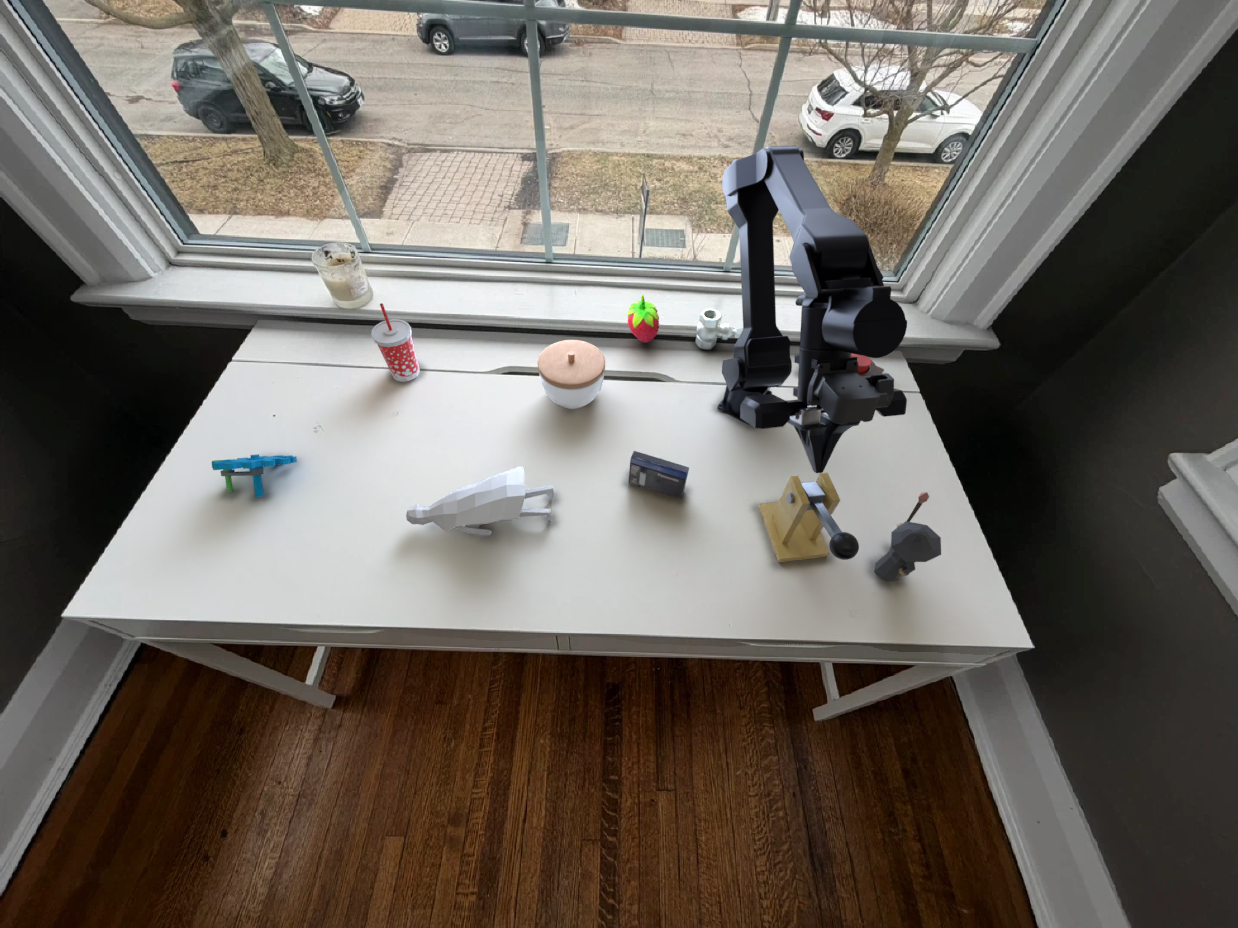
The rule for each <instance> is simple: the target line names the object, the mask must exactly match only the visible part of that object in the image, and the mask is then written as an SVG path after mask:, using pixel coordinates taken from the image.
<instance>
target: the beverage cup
mask: <svg viewBox="0 0 1238 928" xmlns="http://www.w3.org/2000/svg"><path fill="white" fill-rule="evenodd" d="M379 307H380V309H381V312H382V315H383V317H384V320H383V321H380V322H379V323H377V324H376V325H374V326H373V328H372V329H371V332H370V333H371V334H370V336H371V339H372V340H373V342H374V344H376V345H377V347H378V349H379V351H380V353H381V355H382V358H383V360H384V361H385V364H386V366H387V367H388V370H389V371H390V374H391V376H392V377H393V379H394V380H395V381H397V382H401V383H405V382H410V381H414V380H415V379H416V378H418V376H419V375H420V373H421V368H420V366H419V360H418V357H417V352H416V349H415V345H414V341H413V337H412V331H413V330H412V326H411V325H410V324H409V322H407V321H405V320H404V319H398V318H393V319H392V318H391V319H389V317H388V314H387V311H386V308H385V306H384V304H383V303H379Z"/></svg>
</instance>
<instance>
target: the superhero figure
mask: <svg viewBox="0 0 1238 928" xmlns="http://www.w3.org/2000/svg"><path fill="white" fill-rule="evenodd" d="M525 487H526V486H525V469H524V467H523V466H522V465H520V466H516V467H514V468H511V469H509V470H506V471H503V472H500V473H497V474H493V475H491V476H489V477H486V478H483V479H482V480H480V481H478V482H474V483H472V484H468V485H465V486H462V487H459V488H457V489H455V490H453V491H452V492H450V493H448V494H447V495H445V496H443V497H442V498H440V499H439V500H437V501H435V502H433V503H432V504H430V505H422V504H420V503H416V504H414V505H412V506H410V507H409V508H408V509H407V510H406V513H405V518H406V521H407V522H409V523H410V524H411V525H419V526H424V525H427V524H430V523H433V524H434V525H436V526H437V527H438V528H440V529H442V530H443V531H445V532H448V531H450V530H452V529H457V530H459V531H461V532H464V533H468V534H472V535H475V536H479V537H491V536H492V533H493V532H492V530H491V529H484V528H479V527H480V526H481V525H488V524H494V523H502V522H507V521H508V522H509V521H513V520H519V519H520V518H525V517H526V518H527V517H543V516H545V517H546V518H547V520H548V522H549V523H551V522H552V511H551V508H523V505H524V503H525V500H526V499H530V498H535V497H539V496H542V495H546V496H547V497H548V499H549V500H550V501H552V500H553V499H554V486H553V485H547V486H541V487H534V488H527V489H526V488H525Z"/></svg>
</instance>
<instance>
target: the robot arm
mask: <svg viewBox="0 0 1238 928" xmlns="http://www.w3.org/2000/svg"><path fill="white" fill-rule="evenodd" d="M721 186H722V187H721V188H722V194H723V195H724V197H725V202H726V211H727V213H728V215H729V216H730V218H731V219H732V221H733V222H734V224H735V225H736V227H737V228H738V234H739V235H738V237H739V261H740V283H741V305H742V306H741V307H742V308H741V309H742V329H743V331H742V333H741V334H740V336H739V338H737V340H736V341H735V344H734V346H733V350H732V351H733V353H732V355H733V356H732V358H728V359H723V360H722V363H721V364H722V366H721V374H722V377H723V379H724V381H725V384H726V387H725V390H724V394H723V397H722V400H721V401H720V402H719V403H718V404H717V410H719V411H721V412H723V413H724V414H726V415H728V416H731V417H733V418H735V419H736V420H738V421H740V422H742V423H744V424H746V425H749V426H751V427H753V428H754V429H760V430H764V429H765V430H766V429H776V428H784V427H785V425H786V424H789V425H791V426H793V428H794V430H795V432H796V433H797V435H798V437H799V439H800V441H801V444H802V446H803V448H804V451H805V454H806V456H807V459H808V461H809V464H810V467H811V469H812V471H813V473H815V474H820V473H824V472H825V469H826V467H827V465H828V463H829V460H830V458H831V456H832V454H833V453H834V450H835V448H836V446H837V445H838V442H839V441H840V439H841V438H842V437H843V435H844V433H845V432H847V431H848V430H850V429H851V428H853V427H856V426H859V425H860V423H861V422H863V423H868V422H871V421H873V418H874V416H875V413H876V412H877V413H878V414H879V415H880V416H881V417H895V416H904V415H906V411H907V406H908V405H907V404H908V399H907V397H906V395H905V393H904V391H903V390H902V389H898V388H895V378H894V377H893V376H892V375H891V374H889V373H888V372H886V373H885V372H884V373H882V374H874V375H872V376H871V377H870V376H863V377H862V376H860V375H859V372H858V361H857V357H855V356H851V353H853V354H857V355H862V356H866V357H869V358H871V359H872V358H873V359H879V358H880V359H881V358H884V357H886V356H888V355H890V354H891V353H893V352H894V351H895V350H897V349H898V348H899V346H900V345H901V343H902V342H903V340H904V338H905V336H906V333H907V328H908V320H907V319H906V314H905V312H904V310H903V308H902V306H901V305H900V304H899V303H898V302H897V301H895V300H893V299H891V297H892V287H891V286H890V285H885V284H884V281H883V279H884V275H883V273H882V272H881V270H880V268H879V266H878V264H877V261H876V258H875V255H874V252H873V249H872V246H871V244H870V240H869V238H868V235H867V234H866V233H865V232H864V230H863V229H862V228H860V226H858V224H857V223H856V222H855V221H854V220H852V219H851V218H848V217H846V216H844V215H842V214H839V213H837V212H835V210H833V208H832V207H831V206H830V203H829V202H828V200H827V199H826V197H825V195H824V194H823V192H822V190H821V188H820V187H819V184H818V183H817V181H816V179H815V178H814V176H813V174H812V173H811V171H810V169H809V168H808V166H807V163H806V162H805V153H804V150H803V148H802V147H798V146H797V145H794V144H793V145H769V146H766V147H765V148H761V149H760V150H759V151H758V152H756V153H754V154H751V155H748V156H744V157H743V158H742V157H741V158H735V159H733V160H732V162H731V164H730V165H729V166H728V167H726V168H725V169H724V171H723V174H722V183H721ZM778 212H779V213H780V215H781V217H782V219H783V221H784V223H785V225H786V227H787V229H788V231H789V233H790V235H791V239H792V242H793V245H792V247H791V250H790V253H789V261H790V263H791V269H792V273H793V275H794V277H795V278H796V281H797V283H798V284H799V285H800V287H801V289H802V290H803V292H801V294H799V295H798V296H797V298H796V299H795V306H798V307H801V311H800V315H801V316H800V336H799V353H794V363H795V364H798V379H797V386H794V387H793V388H792V396H794V397H796V398H797V399H789V400H786V399H783V398H781V397H779V396H777V395H775V394H773V391H771V388H775V387H776V388H781V386H782V385H783V384H784V383H785V382H786V381H787V379H788V378H789V377H790V376H791V373H792V370H793V363H792V358H791V340H790V338H789V336H788V335H783V333H782V332H781V331H780V329H779V327H778V326H777V313H776V312H777V311H776V310H777V309H776V281H775V279H776V278H775V249H774V247H775V245H774V243H775V242H774V221H775V218H776V217H777V214H778Z"/></svg>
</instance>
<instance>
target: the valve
mask: <svg viewBox="0 0 1238 928" xmlns="http://www.w3.org/2000/svg"><path fill="white" fill-rule="evenodd" d="M722 318H723V316H722V314H721V312H720V311H719V310H718V309H714V308H705V309H704V310H703V311H701V312H700V314H699V320H698V321H699V322H698V323H697V326H696V336H695V344H696V346H697V347H698V348H699V349H701V350H708V351H709V350H712V349H713V348H714V347H715V346H716V344H717V340H718V338H720V339H721V340H722V341H723V340H724V341H727V340H728V339H729V338H732V336H733V337H734V338H735V339H738V338H739V336H740V334H741V333H742V331H743V327H742V328H741V327H735V328H734V327H733V326H731V324H730V323H729V322H723V324H722V322H721V321H722Z"/></svg>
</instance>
